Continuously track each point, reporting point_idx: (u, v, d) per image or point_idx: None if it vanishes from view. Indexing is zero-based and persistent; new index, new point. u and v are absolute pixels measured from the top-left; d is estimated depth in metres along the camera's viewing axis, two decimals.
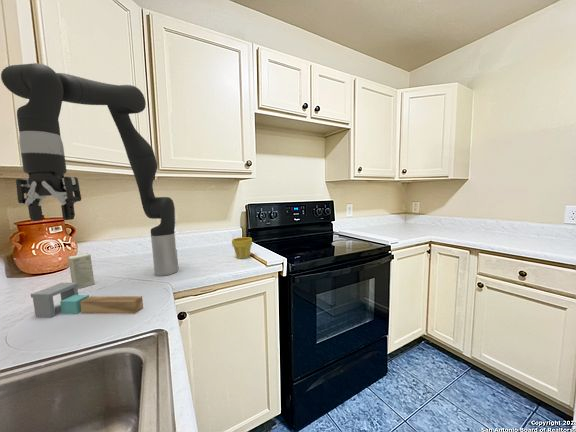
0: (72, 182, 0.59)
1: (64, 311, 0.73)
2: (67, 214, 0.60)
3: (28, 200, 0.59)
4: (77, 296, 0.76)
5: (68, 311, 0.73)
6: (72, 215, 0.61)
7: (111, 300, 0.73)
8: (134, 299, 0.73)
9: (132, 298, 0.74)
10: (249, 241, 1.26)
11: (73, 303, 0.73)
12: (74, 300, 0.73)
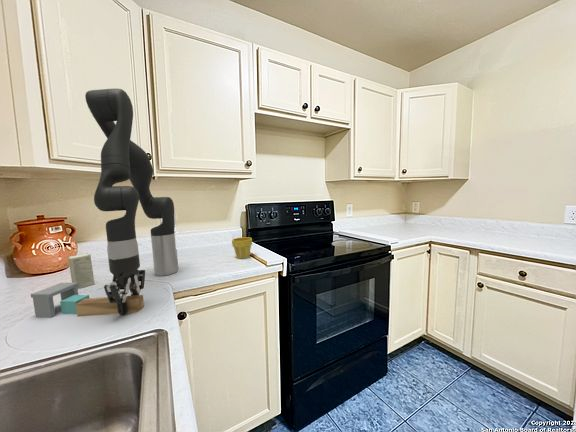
0: None
1: (64, 311, 0.73)
2: None
3: (124, 297, 0.71)
4: (77, 296, 0.76)
5: (68, 311, 0.73)
6: None
7: None
8: (136, 298, 0.74)
9: (133, 297, 0.74)
10: (249, 241, 1.26)
11: (73, 303, 0.73)
12: (74, 300, 0.73)
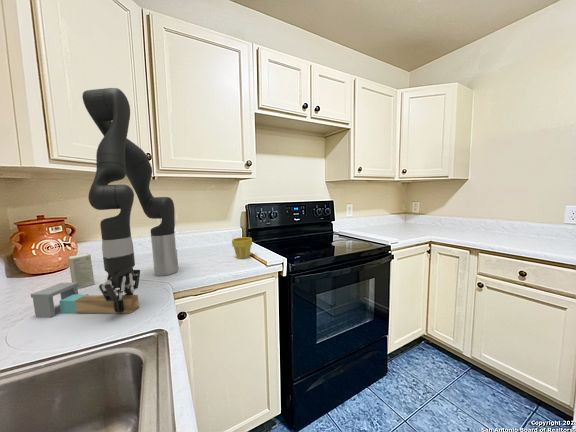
0: None
1: (63, 310, 0.74)
2: None
3: (120, 295, 0.71)
4: (76, 296, 0.76)
5: (67, 310, 0.73)
6: None
7: None
8: (130, 298, 0.73)
9: (127, 296, 0.74)
10: (249, 241, 1.26)
11: (72, 302, 0.73)
12: (73, 299, 0.74)
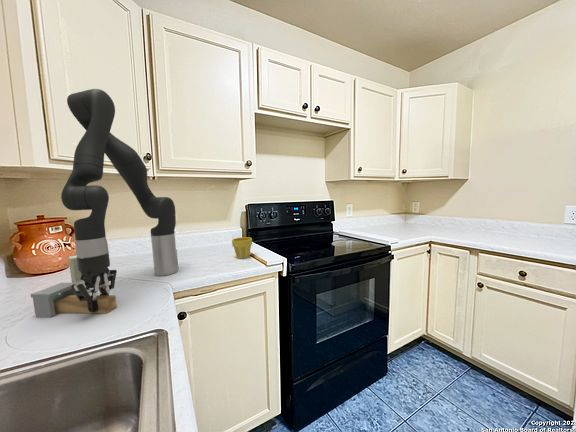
0: None
1: None
2: None
3: (94, 295, 0.72)
4: (56, 296, 0.77)
5: None
6: None
7: None
8: (107, 298, 0.74)
9: (105, 297, 0.75)
10: (249, 241, 1.26)
11: None
12: None
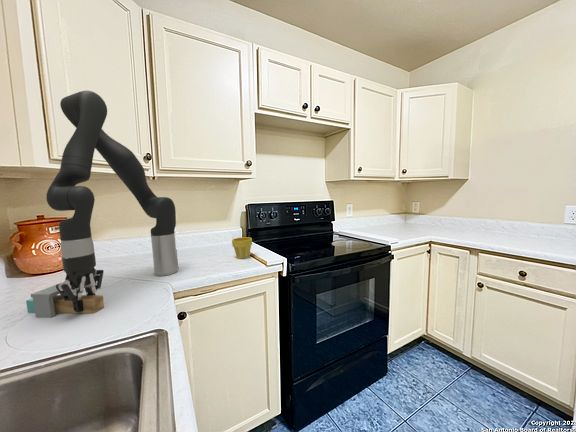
0: None
1: (30, 310, 0.75)
2: None
3: (80, 295, 0.72)
4: None
5: (34, 310, 0.75)
6: None
7: None
8: (94, 298, 0.74)
9: (92, 297, 0.75)
10: (249, 241, 1.26)
11: None
12: None
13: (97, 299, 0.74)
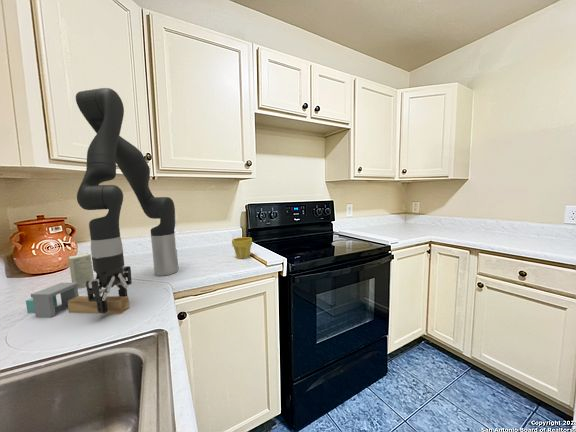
0: None
1: (30, 310, 0.75)
2: (126, 295, 0.78)
3: (105, 295, 0.70)
4: None
5: (34, 310, 0.75)
6: None
7: None
8: (120, 299, 0.73)
9: (118, 298, 0.74)
10: (249, 241, 1.26)
11: None
12: None
13: (123, 300, 0.73)
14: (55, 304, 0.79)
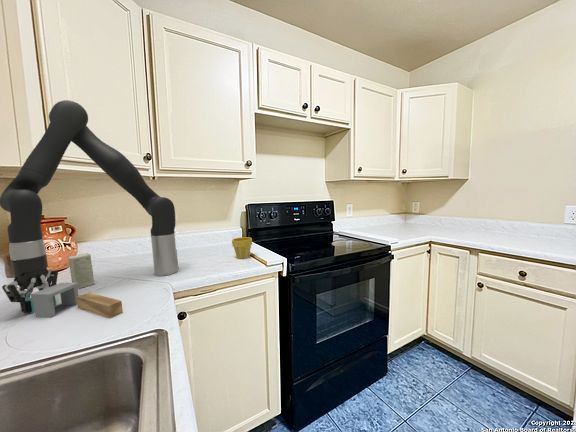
0: None
1: None
2: None
3: (28, 296, 0.73)
4: None
5: (32, 310, 0.74)
6: None
7: (95, 300, 0.73)
8: (112, 303, 0.71)
9: (112, 301, 0.72)
10: (249, 241, 1.26)
11: None
12: None
13: (114, 305, 0.71)
14: (54, 304, 0.78)
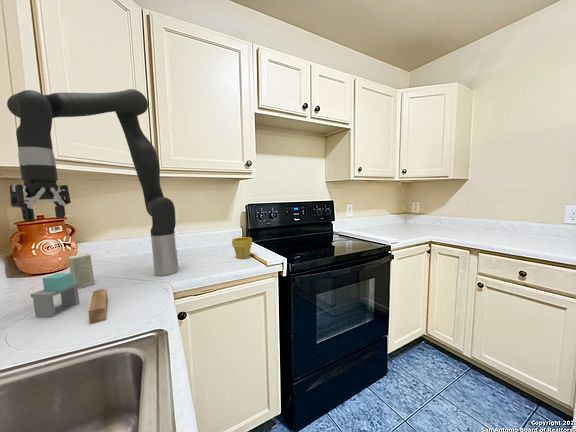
0: None
1: (46, 288, 0.73)
2: (63, 213, 0.78)
3: (31, 203, 0.68)
4: (60, 274, 0.76)
5: (50, 288, 0.73)
6: None
7: (93, 300, 0.73)
8: (94, 308, 0.68)
9: (98, 306, 0.70)
10: (249, 241, 1.26)
11: (55, 279, 0.72)
12: (56, 277, 0.73)
13: (95, 311, 0.68)
14: (71, 283, 0.77)
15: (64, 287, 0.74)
